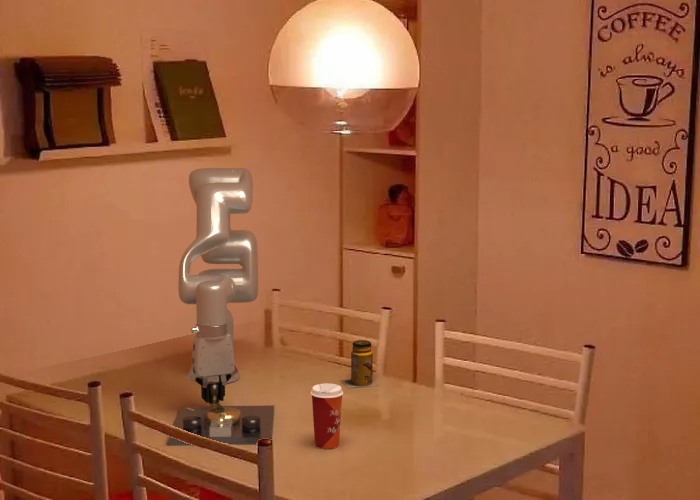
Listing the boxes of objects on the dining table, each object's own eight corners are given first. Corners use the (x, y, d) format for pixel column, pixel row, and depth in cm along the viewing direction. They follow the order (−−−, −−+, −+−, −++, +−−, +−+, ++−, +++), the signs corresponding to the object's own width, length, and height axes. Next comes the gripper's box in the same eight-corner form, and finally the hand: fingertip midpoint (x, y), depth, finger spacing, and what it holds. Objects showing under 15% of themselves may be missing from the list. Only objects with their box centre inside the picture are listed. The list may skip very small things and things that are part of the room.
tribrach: (180, 412, 267) (180, 391, 266) (274, 411, 268) (274, 390, 268) (168, 445, 244) (168, 422, 243) (271, 444, 245) (271, 421, 244)
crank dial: (244, 423, 254) (243, 397, 253) (212, 427, 251) (211, 400, 250) (227, 404, 268) (227, 379, 267) (196, 408, 265) (196, 383, 264)
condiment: (377, 385, 291) (377, 344, 289) (348, 388, 288) (348, 346, 286) (368, 378, 298) (368, 337, 296) (340, 381, 295) (340, 340, 293)
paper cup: (339, 451, 240) (339, 393, 238) (307, 449, 241) (306, 391, 239) (346, 440, 247) (346, 383, 245) (315, 438, 249) (314, 381, 247)
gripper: (184, 337, 255) (186, 409, 258) (247, 330, 262) (248, 400, 265) (176, 330, 261) (177, 400, 265) (237, 323, 268) (239, 392, 271)
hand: (213, 399), depth 265 cm, fingers closed on crank dial, 3 cm apart
